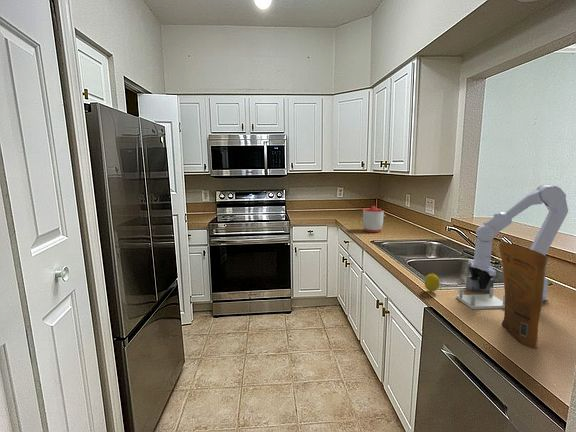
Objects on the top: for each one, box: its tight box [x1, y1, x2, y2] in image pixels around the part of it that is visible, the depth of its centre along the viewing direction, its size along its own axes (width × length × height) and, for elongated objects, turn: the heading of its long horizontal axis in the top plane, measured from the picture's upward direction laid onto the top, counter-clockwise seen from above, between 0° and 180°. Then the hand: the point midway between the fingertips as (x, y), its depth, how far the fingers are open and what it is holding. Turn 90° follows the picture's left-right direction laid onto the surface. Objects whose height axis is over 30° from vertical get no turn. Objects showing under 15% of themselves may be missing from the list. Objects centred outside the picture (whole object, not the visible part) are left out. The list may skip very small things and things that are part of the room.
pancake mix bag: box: [498, 240, 549, 349], centre depth 96 cm, size 7×19×28 cm, turn 173°
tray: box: [456, 287, 505, 310], centre depth 120 cm, size 14×10×4 cm
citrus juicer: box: [362, 205, 387, 233], centre depth 243 cm, size 16×17×20 cm
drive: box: [465, 276, 495, 293], centre depth 132 cm, size 9×4×5 cm, turn 93°
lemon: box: [424, 272, 441, 293], centre depth 130 cm, size 6×6×8 cm
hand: (479, 286), depth 133 cm, fingers closed on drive, 4 cm apart
